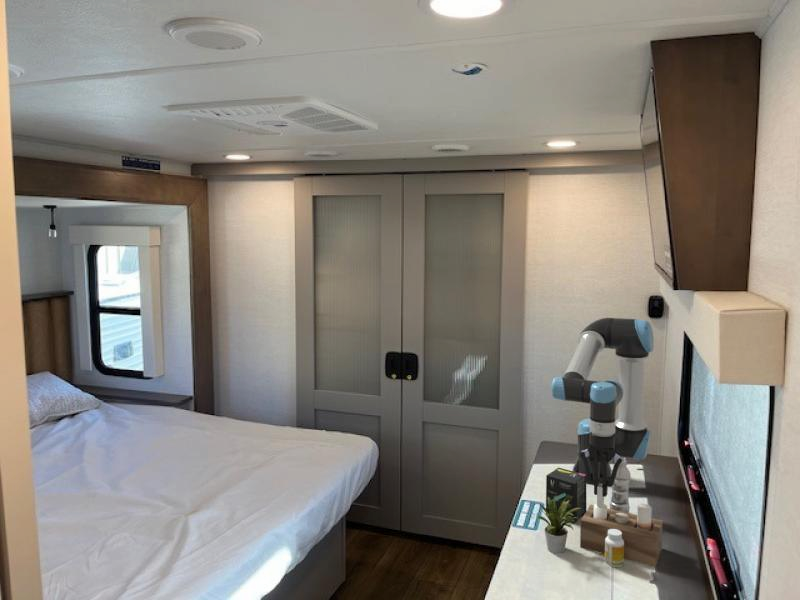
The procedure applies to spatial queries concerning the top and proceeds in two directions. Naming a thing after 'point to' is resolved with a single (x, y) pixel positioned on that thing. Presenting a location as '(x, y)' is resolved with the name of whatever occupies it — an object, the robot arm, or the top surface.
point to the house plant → (557, 526)
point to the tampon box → (567, 491)
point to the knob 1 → (600, 512)
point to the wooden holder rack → (623, 535)
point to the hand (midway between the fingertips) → (600, 505)
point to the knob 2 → (644, 516)
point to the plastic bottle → (621, 489)
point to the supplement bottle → (614, 548)
